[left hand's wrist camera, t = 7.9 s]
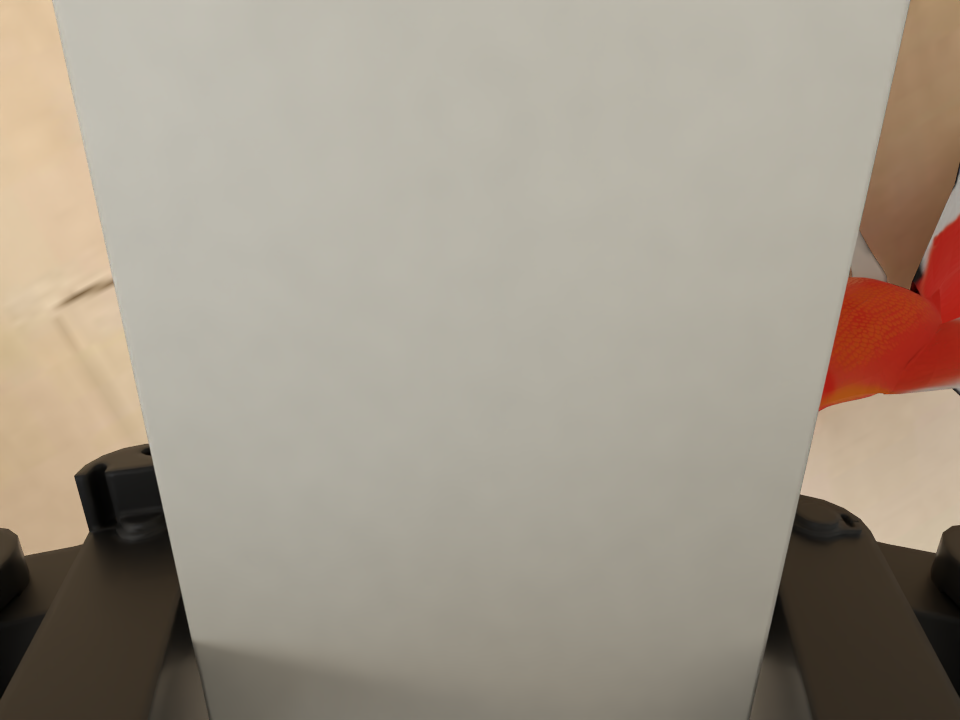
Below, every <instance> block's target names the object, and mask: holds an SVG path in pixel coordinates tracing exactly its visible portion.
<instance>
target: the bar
mask: <svg viewBox="0 0 960 720" xmlns="http://www.w3.org/2000/svg"><path fill="white" fill-rule="evenodd" d="M52 2H53V6H54V11H55V15H56V20H57V25H58V29H59V34H60V38H61V43H62V47H63V52H64V57H65V61H66V66H67V70H68V75H69V80H70V84H71V89H72V93H73V98H74V102H75V107H76V112H77V116H78V121H79V125H80V130H81V135H82V139H83V144H84V148H85V153H86V157H87V162H88V167H89V171H90V176H91V180H92V185H93V190H94V194H95V199H96V203H97V208H98V212H99V217H100V222H101V226H102V231H103V235H104V240H105V245H106V249H107V254H108V258H109V263H110V267H111V272H112V277H113V281H114V286H115V290H116V295H117V300H118V304H119V309H120V313H121V318H122V322H123V327H124V332H125V336H126V341H127V345H128V350H129V355H130V359H131V364H132V368H133V373H134V378H135V382H136V387H137V391H138V396H139V400H140V405H141V410H142V414H143V419H144V423H145V428H146V433H147V437H148V442H149V446H150V451H151V455H152V460H153V465H154V469H155V474H156V478H157V483H158V488H159V492H160V497H161V501H162V506H163V510H164V515H165V520H166V524H167V529H168V533H169V538H170V543H171V547H172V552H173V556H174V561H175V565H176V570H177V575H178V579H179V584H180V588H181V593H182V598H183V602H184V607H185V611H186V616H187V620H188V625H189V630H190V634H191V639H192V643H193V648H194V653H195V657H196V662H197V666H198V671H199V675H200V680H201V685H202V689H203V694H204V698H205V703H206V708H207V712H208V717H209V720H749V719H750V715H751V710H752V706H753V701H754V697H755V693H756V688H757V684H758V679H759V675H760V670H761V666H762V661H763V657H764V652H765V648H766V643H767V639H768V634H769V630H770V625H771V621H772V616H773V612H774V608H775V603H776V599H777V594H778V590H779V585H780V581H781V576H782V572H783V567H784V563H785V558H786V554H787V549H788V545H789V540H790V536H791V532H792V527H793V523H794V518H795V514H796V509H797V505H798V500H799V496H800V491H801V487H802V482H803V478H804V473H805V469H806V464H807V460H808V456H809V451H810V447H811V442H812V438H813V433H814V429H815V424H816V420H817V415H818V411H819V406H820V402H821V397H822V393H823V388H824V384H825V380H826V375H827V371H828V366H829V362H830V357H831V353H832V348H833V344H834V339H835V335H836V330H837V326H838V321H839V317H840V312H841V308H842V304H843V299H844V295H845V290H846V286H847V281H848V277H849V272H850V268H851V263H852V259H853V254H854V250H855V245H856V241H857V236H858V232H859V228H860V223H861V219H862V214H863V210H864V205H865V201H866V196H867V192H868V187H869V183H870V178H871V174H872V169H873V165H874V160H875V156H876V151H877V147H878V143H879V138H880V134H881V129H882V125H883V120H884V116H885V111H886V107H887V102H888V98H889V93H890V89H891V84H892V80H893V75H894V71H895V67H896V62H897V58H898V53H899V49H900V44H901V40H902V35H903V31H904V26H905V22H906V17H907V13H908V8H909V4H910V0H52Z"/></svg>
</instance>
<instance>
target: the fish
mask: <svg viewBox="0 0 960 720" xmlns="http://www.w3.org/2000/svg"><path fill="white" fill-rule="evenodd" d="M851 270H852V277H848V281H847V286H846V290H845V295H844V299H843V304H842V308H841V312H840V317H839V321H838V326H837V330H836V335H835V339H834V344H833V348H832V353H831V357H830V362H829V366H828V371H827V375H826V380H825V384H824V388H823V393H822V397H821V402H820V406H819V411H820V410H822V409H824V408H826V407H828V406H831V405H835V404H838V403H843V402H847V401H851V400H857V399H861V398H865V397H869V396H872V395H875V394H877V393H884V394H903V393H913V392H924V391H933V390H942V389H953V390H954V391H955V392H956V393H958V394H959V395H960V164H959V168H958V173H957V177H956V181H955V185H954V187H953V190H952V192H951V194H950V196H949V199H948V201H947V203H946V206H945V208H944V210H943V212H942V215H941V217H940V219H939V221H938V224H937V226H936V228H935V231H934V233H933V235H932V237H931V240H930V242H929V244H928V247H927V249H926V251H925V254H924V256H923V258H922V260H921V263H920V265H919V267H918V269H917V272H916V274H915V276H914V279H913V281H912V284H911V289H910V290H908V289H906V288H903V287H899V286H896V285H893V284H890V283H887V277H886V275H885V273H884V271H883V269H882V267H881V266H880V264H879V263H878V261H877V260H876V258H875V257H874V255H873V254H872V252H871V251H870V249H869V247H868V246H867V244H866V242H865V240H864V238H863V236H862V235H861V233H860V231H859V232H858V236H857V241H856V245H855V250H854V254H853V259H852V263H851Z"/></svg>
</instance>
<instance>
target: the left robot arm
mask: <svg viewBox="0 0 960 720" xmlns="http://www.w3.org/2000/svg"><path fill="white" fill-rule="evenodd" d="M74 477H75V481H76V484H77V488H78V491H79V495H80V499H81V502H82V506H83V510H84V513H85V517H86V520H87V524H88V528H89V531H90V532H89V534H88V536H87V538H86V539H85V541H84V543H83V544H82V545H78V546H74V547H69V548H64V549H59V550H53V551H48V552H43V553H38V554H32V555H27V556H24V554H23V551H22V548H21V545H20V542H19V539H18V536H17V535H16V534H15V533H13V532H12V531H10V530H9V529H4V528H0V720H209V717H208V712H207V708H206V703H205V698H204V694H203V689H202V685H201V680H200V675H199V671H198V666H197V662H196V657H195V653H194V648H193V643H192V639H191V634H190V630H189V625H188V620H187V616H186V611H185V607H184V602H183V598H182V593H181V588H180V584H179V579H178V575H177V570H176V565H175V561H174V556H173V552H172V547H171V543H170V538H169V533H168V529H167V524H166V520H165V515H164V510H163V506H162V501H161V497H160V492H159V488H158V483H157V478H156V474H155V469H154V465H153V460H152V455H151V451H150V446H149V444H143V445H138V446H133V447H128V448H123V449H120V450H118V451H115V452H112V453H109V454H106V455H103V456H101V457H99V458H98V459H96V460H94V461H92V462H90V463H89V464H87V465H85V466H84V467H83V468H82V469H81V470H80V471H79V472H78V473H77V474H76V475H75V476H74ZM749 720H960V525H957V526H952V527H950V528H949V529H947V530H946V531H944V532H943V534H942V537H941V540H940V543H939V546H938V549H937V552H936V553H932V552H927V551H921V550H916V549H911V548H905V547H900V546H895V545H890V544H885V543H881V542H877V541H876V540H875V538H874V536H873V535H872V533H871V531H870V530H869V529H868V527H867V526H866V525H865V524H864V523H863V522H862V520H861V519H860V518H858V517H856V516H855V515H853V514H852V513H850V512H849V511H847V510H846V509H844V508H842V507H840V506H837V505H835V504H832V503H830V502H828V501H825V500H822V499H818V498H813V497H809V496H804V495H800V496H799V500H798V505H797V509H796V514H795V518H794V523H793V527H792V532H791V536H790V540H789V545H788V549H787V554H786V558H785V563H784V567H783V572H782V576H781V581H780V585H779V590H778V594H777V599H776V603H775V608H774V612H773V616H772V621H771V625H770V630H769V634H768V639H767V643H766V648H765V652H764V657H763V661H762V666H761V670H760V675H759V679H758V684H757V688H756V693H755V697H754V701H753V706H752V710H751V715H750V719H749Z"/></svg>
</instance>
